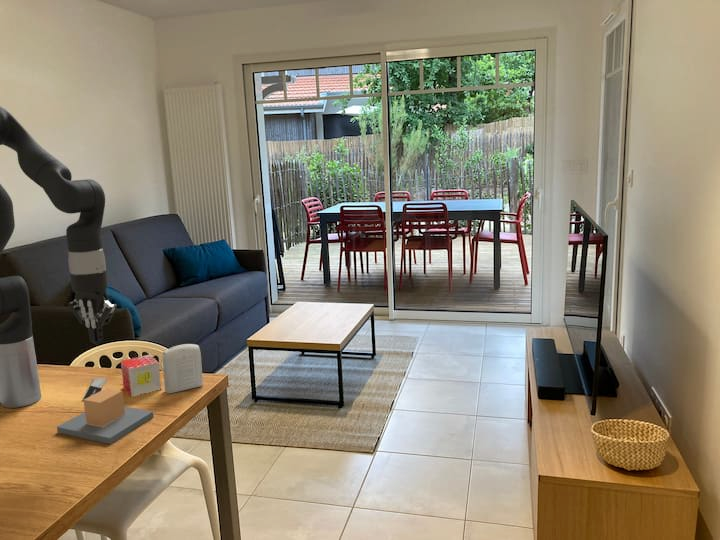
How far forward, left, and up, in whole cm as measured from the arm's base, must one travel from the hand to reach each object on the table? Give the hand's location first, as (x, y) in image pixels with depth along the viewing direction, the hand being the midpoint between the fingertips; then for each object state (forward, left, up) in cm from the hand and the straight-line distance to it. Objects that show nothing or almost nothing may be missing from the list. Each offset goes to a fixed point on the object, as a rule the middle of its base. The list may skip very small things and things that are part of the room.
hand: (96, 342), depth 136 cm
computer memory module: (-19, +15, -21) cm, 32 cm away
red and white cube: (-7, +20, -21) cm, 30 cm away
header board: (0, 0, -21) cm, 21 cm away
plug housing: (0, 0, -19) cm, 19 cm away
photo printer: (+4, +24, -21) cm, 32 cm away
